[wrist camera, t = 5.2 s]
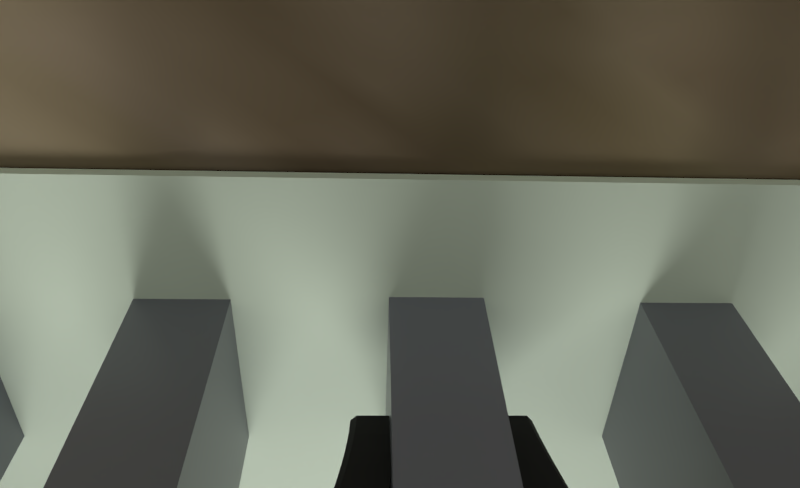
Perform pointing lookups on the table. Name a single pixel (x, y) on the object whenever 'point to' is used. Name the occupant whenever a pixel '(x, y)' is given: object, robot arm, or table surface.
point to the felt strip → (377, 290)
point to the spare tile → (446, 397)
